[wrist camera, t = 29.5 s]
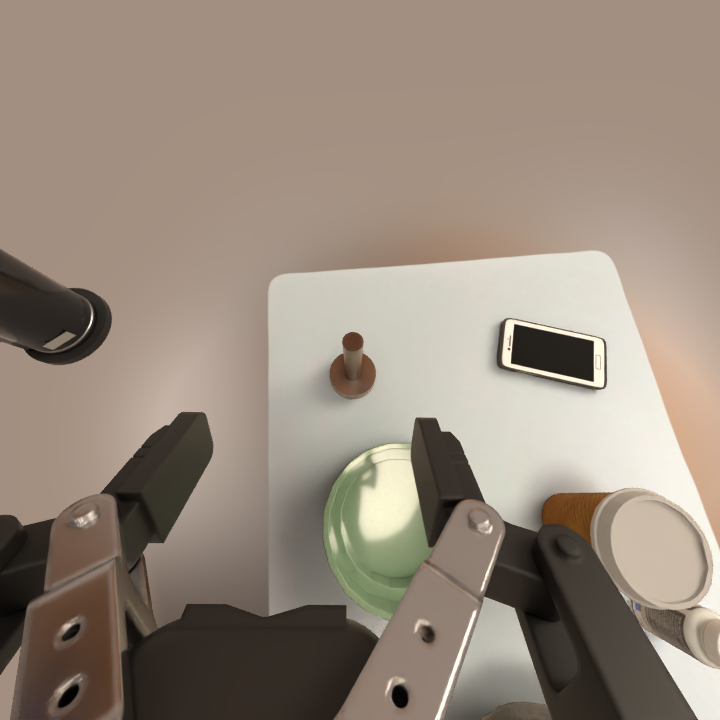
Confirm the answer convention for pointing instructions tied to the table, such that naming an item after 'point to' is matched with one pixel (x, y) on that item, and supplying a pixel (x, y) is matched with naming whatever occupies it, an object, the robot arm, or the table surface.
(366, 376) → the wooden rod on disc
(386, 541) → the mixing bowl
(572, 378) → the cell phone
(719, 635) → the pill bottle
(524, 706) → the bowl
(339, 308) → the table surface
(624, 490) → the disposable coffee cup
